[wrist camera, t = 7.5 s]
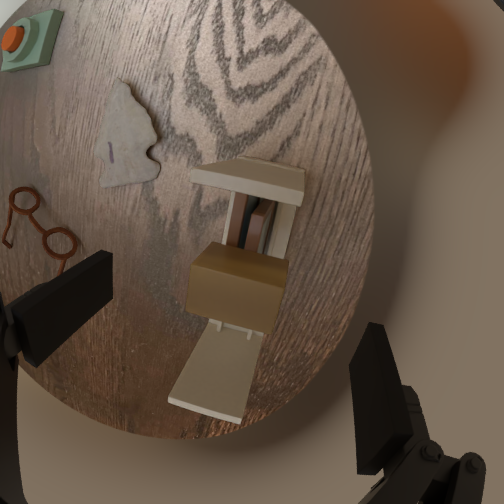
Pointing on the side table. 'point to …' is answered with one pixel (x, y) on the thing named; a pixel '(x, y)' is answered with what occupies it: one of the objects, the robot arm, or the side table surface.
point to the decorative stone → (125, 140)
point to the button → (12, 38)
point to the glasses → (38, 227)
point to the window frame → (235, 233)
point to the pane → (240, 279)
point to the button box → (34, 41)
